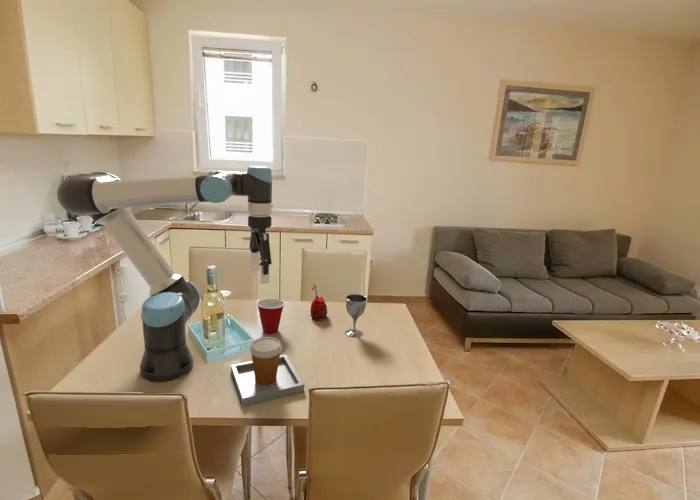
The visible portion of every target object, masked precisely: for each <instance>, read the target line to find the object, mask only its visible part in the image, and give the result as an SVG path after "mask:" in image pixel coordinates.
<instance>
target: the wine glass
mask: <svg viewBox="0 0 700 500" xmlns="http://www.w3.org/2000/svg"><path fill="white" fill-rule="evenodd" d="M345 298H346V299H345V306H346V307H345V308H346V312H347V313H348V315H349V316H350V317H351V318H352V323H353V327H352V328H348V329H346V330H345V331H344V332H345V335H346V336H347V337H350V338H360V337H362V336H363V335H364V332H363V331H362V330H360V329H357V328H356V325H357V321H358V319H359V318H360V317H362V315H363V314H364V313H365V310H366V307H367V302H368V299H367V297H366V296H365V295H362V294H360V293H352V294H348V295H347V296H346V297H345Z"/></svg>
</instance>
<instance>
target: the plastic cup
mask: <svg viewBox="0 0 700 500" xmlns="http://www.w3.org/2000/svg"><path fill="white" fill-rule="evenodd" d="M256 305H257V309H258V312H259V318H260V323H261V327H262V329H261V330H262V331H263V333H264V334H267V335H273V334H274V335H275V334H276V333H278V332H279V327H280V323H281V318H282V313H283V310H284V306H285V305H286V302H285V301H284V300H281V299H279V298H264V299H260V300H257V301H256Z"/></svg>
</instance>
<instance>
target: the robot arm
mask: <svg viewBox="0 0 700 500" xmlns="http://www.w3.org/2000/svg"><path fill="white" fill-rule="evenodd" d="M272 176H273V175H272V170H271V168H270V167H268V166H259V165H255V166H254V165H251V166H248V167H247V170H246V171H243V172H242V171H230V170H229V171H227V170H210V171H209V172H208V174H204V175H201V174H200V175H191V176H189V175H188V176H174V177H173V176H172V177H160V178H159V177H157V178H156V177H155V178H145V179H144V178H142V179H141V178H139V179H129V180H128V179H127V180H126V179H125V180H122V179H121V178H119V177H118V176H117V175H115V174H113V173H109V172H105V171H104V172H103V171H94V172H91V173H86V174H76V175H72V176H69V177H67V178H65V179H64V180H63V181H61V183H60V184H59V185H58V188H57V191H56V197H57V201H58V203H59V205H60V206H61V207H62V208H63V210H65V211H66V212H68V213H69V214H72V215H75V216H78V217H87V216H89V217H90V218H91V219H92V220H93V222H94V223H95V224H98V225H102V226H104V227H105V229H106V230H107V231H108V233H109V234H110V235H111V237H112V238H113V239H114V241H115V242H116V244H117V245H118V247H120V249H121V250H122V252H123V253H124V254H125V256H126V257H127V258H128V259H129V261H130V262H131V264H132V265H133V266H134V268H135V269H136V270H137V272H138V273H139V274H140V276H141V277H142V278H143V280H144V281H145V283H146V284H147V285H148V286H149V293H148V295H149V297H147V298H146V299H145V300H144V301H143V303H142V305H141V314H140V317H141V321H142V323H141V325H142V331H143V343H144V350H143V354H142V358H141V361H140V364H139V371H140V376H141V378H143V379H144V380H146V381H149V382H153V383H155V382H156V383H157V382H158V383H161V382H163V383H164V382H170V381H174V380H176V379H179V378H181V377H184V376H186V375H187V374H189V372H191V370H192V368H193V367H194V357H193V354H192V353H191V350H190V348H189V346H188V343H187V336H186V325H187V322H188V321H189V320H190V318H191V317H192V316H193V314H194V313H195V312H196V311H197V309H198V308H199V304H200V303H201V302H200V301H201V294H200V290H199V289H198V287H197V286H196V284H194V283H193V282H191V281H188V280H186V279H185V278H184V277H183V275H182V274H180V273H176V272H174V270H173V269H172V268H171V266H170V265H169V263H168V262H167V261H166V258H164V256H163V255H162V253H161V252H160V251H159V249H158V248H157V246H156V245H155V244H154V242H153V241H152V239H151V238H150V237H149V236H148V233H146V231H145V229H144V228H143V227H142V225H141V224H140V223H139V221H138V220H137V219H136V217H135V215H134V214H133V213H132V211H131V210H132V208H141V207H157V206H166V205H167V206H168V205H181V204H192V203H193V204H194V203H196V204H197V203H208V202H209V203H212V204H219V203H224V202H225V201H227V200H228V199H229V198H230V197H232V196H235V197H237V196H238V197H247V214H248V216H247V226H248V227H249V228H251V229H250V230H251V231H250V239H249V247H248V248H249V249H250V250H249V251H250V271H251V272H254V271H255V272H256V271H257V272H258V271H259V272H260V279H259V280H260V282H259V283H260V284H261V285H265V284H266V285H267V284H270V266H271V265H272V263H273V262H272V254H271V246H270V238H269V237H270V233H268V232H267V231H266V229H270V228H271V227H272V223H273V222H272V208H273V207H274V205H273V204H272V202H273V200H272V197H273V196H272V195H273V192H272V191H273V177H272ZM260 261H261V262H260Z"/></svg>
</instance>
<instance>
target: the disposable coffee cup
mask: <svg viewBox="0 0 700 500" xmlns="http://www.w3.org/2000/svg"><path fill="white" fill-rule="evenodd" d="M281 343H282V342H281V341H280V340H279V339H278V338H276V337H270V336H264V337H263V336H262V337H260V338H257V339H254V340H253V341H252V342H251V344H250V346H249V351H250V354H251V359H252V360H251V361H253V367H254V374H255V381H256V382H257V383H258V384H260V385H269V384H272V383H274V382H275V381H276V376H277V370H278V363H279V357H280V355H281V352H282V350H283V345H282V344H281Z"/></svg>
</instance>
